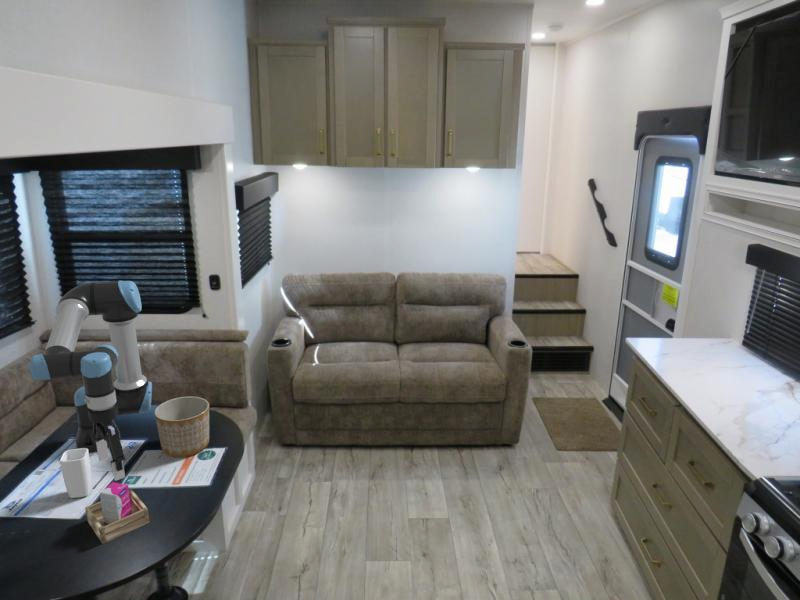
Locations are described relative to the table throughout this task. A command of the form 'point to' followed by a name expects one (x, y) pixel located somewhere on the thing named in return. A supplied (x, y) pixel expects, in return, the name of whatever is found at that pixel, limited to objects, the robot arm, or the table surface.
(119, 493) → the supplement box
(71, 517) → the table surface
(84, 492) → the cup
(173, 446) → the planter
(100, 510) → the crate
